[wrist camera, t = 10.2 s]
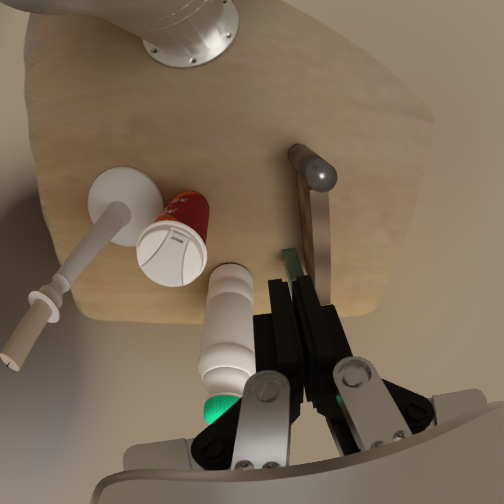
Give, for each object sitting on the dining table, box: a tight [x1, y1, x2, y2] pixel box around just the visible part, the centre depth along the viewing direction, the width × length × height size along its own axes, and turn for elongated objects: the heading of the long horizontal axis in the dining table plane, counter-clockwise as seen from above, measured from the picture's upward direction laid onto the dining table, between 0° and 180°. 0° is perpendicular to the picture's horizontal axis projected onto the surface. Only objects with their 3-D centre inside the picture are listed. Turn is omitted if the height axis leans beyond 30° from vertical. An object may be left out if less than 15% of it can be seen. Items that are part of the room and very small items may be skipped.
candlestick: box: [0, 166, 165, 371], centre depth 26 cm, size 13×13×30 cm
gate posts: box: [283, 144, 337, 292], centre depth 35 cm, size 18×3×12 cm, turn 179°
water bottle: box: [198, 264, 256, 424], centre depth 35 cm, size 7×7×25 cm
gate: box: [296, 169, 331, 305], centre depth 36 cm, size 16×2×9 cm, turn 9°
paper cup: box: [136, 191, 209, 287], centre depth 33 cm, size 8×8×14 cm
